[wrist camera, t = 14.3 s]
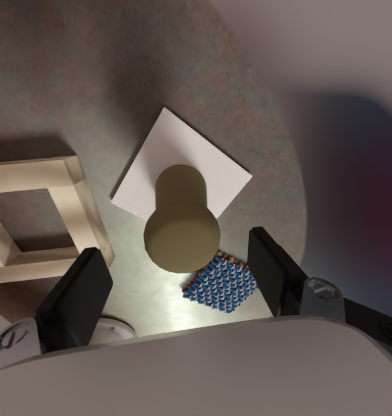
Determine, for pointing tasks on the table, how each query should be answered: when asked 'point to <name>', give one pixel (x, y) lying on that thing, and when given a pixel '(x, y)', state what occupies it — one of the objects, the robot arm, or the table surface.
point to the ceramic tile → (178, 154)
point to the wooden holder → (69, 210)
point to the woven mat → (221, 284)
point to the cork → (181, 222)
